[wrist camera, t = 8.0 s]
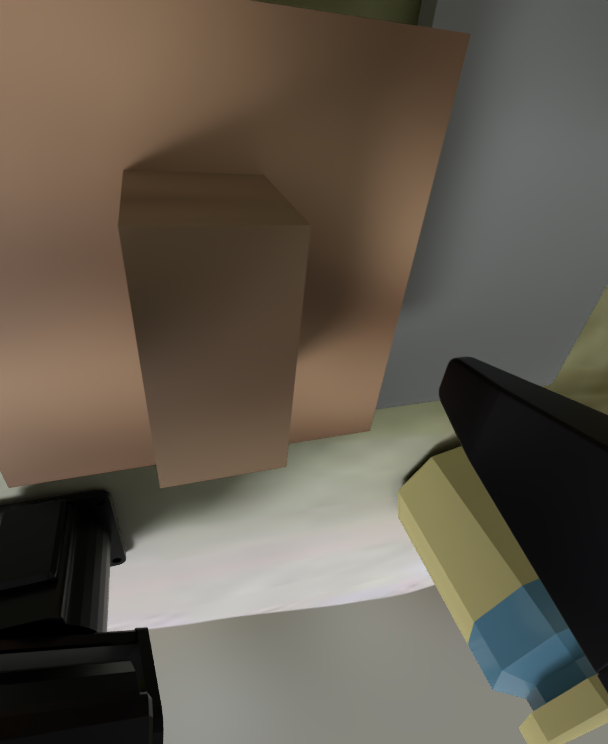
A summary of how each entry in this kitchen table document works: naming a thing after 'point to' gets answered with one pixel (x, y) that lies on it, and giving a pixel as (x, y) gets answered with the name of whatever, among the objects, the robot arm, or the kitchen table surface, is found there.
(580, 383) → the kitchen table surface
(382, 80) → the walnut cover
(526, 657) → the jar
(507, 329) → the charcoal mat
